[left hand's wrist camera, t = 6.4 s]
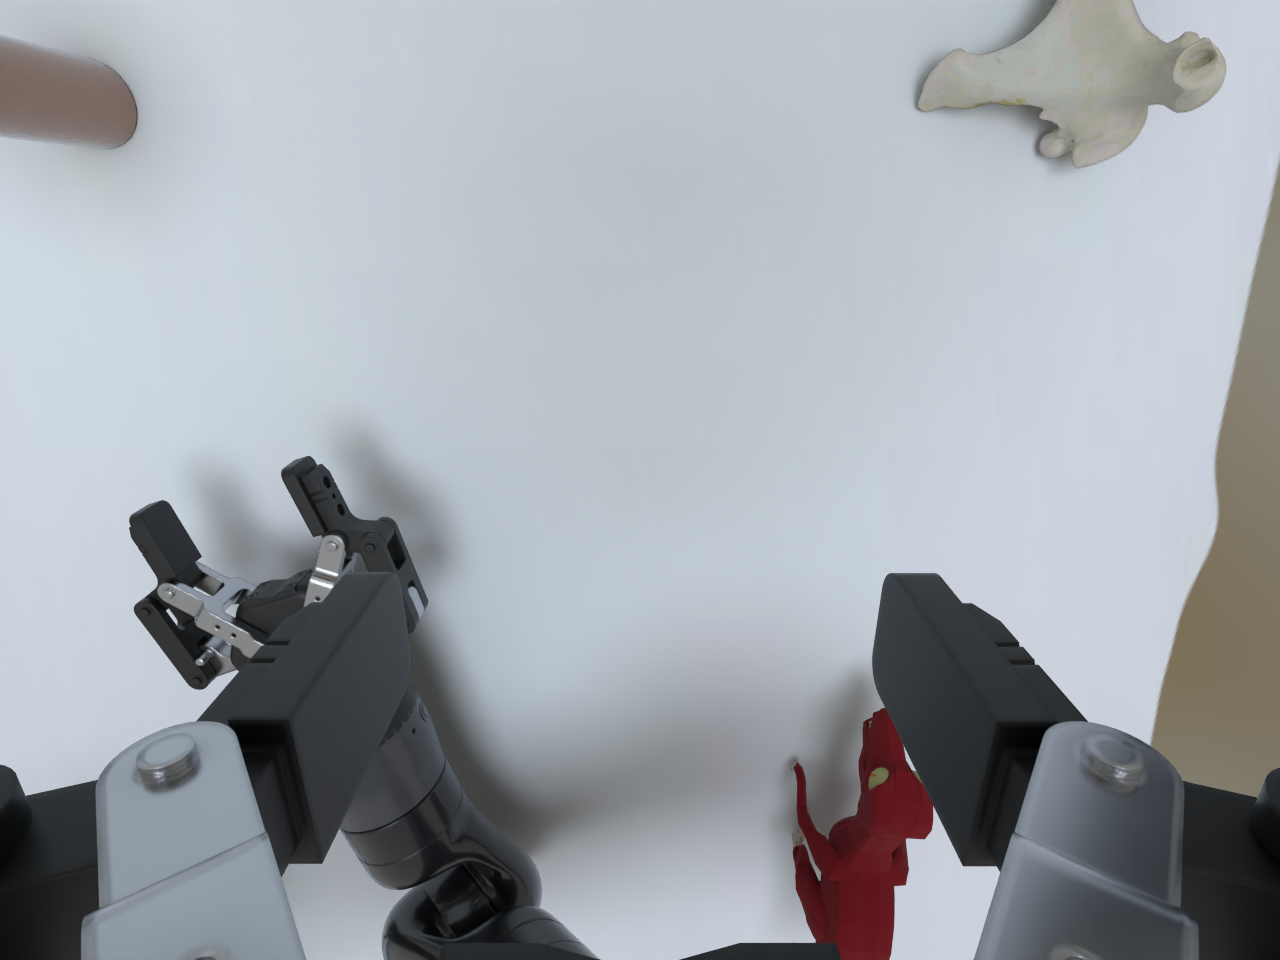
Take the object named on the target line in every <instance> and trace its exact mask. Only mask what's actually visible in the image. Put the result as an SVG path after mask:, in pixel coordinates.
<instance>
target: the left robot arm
mask: <svg viewBox="0 0 1280 960" xmlns="http://www.w3.org/2000/svg"><path fill="white" fill-rule="evenodd" d="M1034 661H1035V660H1034V659H1033V658H1032V657H1031V656H1030V654H1029V653H1028V652H1027V651H1026V650H1025V649H1024V648H1023V647H1020V646H1019V642H1018V641H1017V640H1016V638H1015V637H1014V636H1013V635H1012V634H1011V633H1010V632H1009V630H1008V629H1007V628H1006V627H1005V626H1004V625H1003V623H1002V622H1001V621H999V620H998V619H996V618H994V617H993V616H991V615H990V614H988V613H987V612H985V611H983V610H982V609H980V608H979V607H977V606H975V605H974V604H972V603H962V602H961V601H960V600H959V599H958V597H957V596H956V595H955V594H954V593H953V591H952V590H951V589H950V588H949V586H948V585H947V584H946V583H945V581H944V580H943V579H942V578H941V577H940V576H939V575H938V574H935V573H890V574H888V575H887V576H886V578H885V580H884V583H883V587H882V593H881V600H880V607H879V614H878V620H877V627H876V634H875V641H874V647H873V656H872V667H873V676H874V681H875V685H876V689H877V691H878V694H879V696H880V698H881V700H882V702H883V704H884V706H885V708H886V710H887V712H888V714H889V716H890V718H891V720H892V722H893V724H894V726H895V728H896V730H897V732H898V735H899V737H900V739H901V741H902V743H903V745H904V747H905V749H906V751H907V753H908V755H909V757H910V759H911V761H912V763H913V765H914V767H915V769H916V771H917V773H918V775H919V777H920V779H921V781H922V783H923V786H924V788H925V790H926V792H927V794H928V796H929V798H930V800H931V802H932V804H933V806H934V808H935V810H936V812H937V814H938V816H939V818H940V820H941V822H942V824H943V826H944V828H945V830H946V832H947V834H948V837H949V839H950V841H951V843H952V845H953V847H954V849H955V851H956V853H957V855H958V857H959V859H960V861H961V863H962V865H963V866H997V867H998V869H999V871H1000V876H999V879H998V882H997V885H996V889H995V892H994V895H993V899H992V902H991V905H990V908H989V912H988V915H987V918H986V921H985V925H984V928H983V931H982V935H981V938H980V941H979V944H978V948H977V951H976V954H975V957H974V960H1280V768H1277V769H1275V770H1273V771H1271V772H1270V773H1269V774H1268V775H1267V777H1266V779H1265V782H1264V784H1263V786H1262V789H1261V791H1260V793H1259V796H1258V798H1256V797H1252V796H1247V795H1243V794H1238V793H1234V792H1229V791H1225V790H1220V789H1216V788H1211V787H1207V786H1202V785H1198V784H1193V783H1189V782H1185V781H1182V779H1181V777H1180V775H1179V773H1178V772H1177V770H1176V769H1175V768H1174V766H1173V765H1172V764H1171V763H1170V762H1169V761H1168V760H1167V759H1166V758H1165V757H1164V756H1163V755H1161V754H1160V753H1159V752H1158V751H1156V750H1155V749H1154V748H1152V747H1151V746H1149V745H1148V744H1146V743H1144V742H1143V741H1141V740H1139V739H1137V738H1135V737H1133V736H1131V735H1129V734H1127V733H1125V732H1122V731H1120V730H1117V729H1114V728H1111V727H1108V726H1105V725H1101V724H1096V723H1091V722H1088V721H1087V720H1086V719H1085V718H1084V716H1083V715H1082V714H1081V713H1080V712H1079V711H1078V710H1077V708H1076V707H1075V706H1074V705H1073V704H1072V703H1071V702H1070V700H1069V699H1068V698H1067V697H1066V696H1065V695H1064V694H1063V692H1062V691H1061V690H1060V689H1059V688H1058V687H1057V685H1056V684H1055V683H1054V682H1053V681H1052V680H1051V679H1050V677H1049V676H1048V675H1047V674H1046V673H1045V672H1044V671H1043V669H1042V668H1041V667H1040V666H1039V665H1035V662H1034ZM410 671H411V650H410V643H409V636H408V629H407V622H406V615H405V609H404V602H403V595H402V588H401V583H400V580H399V577H398V576H397V574H396V573H394V572H348V573H346V574H345V575H344V576H343V577H342V578H341V579H340V580H339V582H338V583H337V584H336V585H335V587H334V588H333V589H332V590H331V592H330V593H329V594H328V595H327V597H326V598H325V599H324V600H323V602H312V603H310V604H308V605H307V606H305V607H304V608H302V609H300V610H299V611H297V612H296V613H294V614H293V615H291V616H289V617H288V618H286V619H285V620H283V621H282V623H281V624H280V625H279V626H278V627H277V628H276V630H275V631H274V632H273V633H272V634H271V635H270V637H269V638H268V639H267V640H266V644H265V645H262V646H261V647H260V648H259V649H258V650H257V652H256V653H255V654H254V655H253V656H252V657H251V659H250V663H246V664H245V665H244V667H243V668H242V669H241V670H240V671H239V672H238V674H237V675H236V676H235V677H234V678H233V679H232V681H231V682H230V683H229V684H228V685H227V686H226V687H225V689H224V690H223V691H222V692H221V693H220V694H219V696H218V697H217V698H216V699H215V700H214V701H213V703H212V704H211V705H210V706H209V707H208V708H207V710H206V711H205V712H204V713H203V714H202V715H201V716H200V718H199V719H198V720H197V721H196V722H189V723H184V724H179V725H175V726H172V727H169V728H166V729H163V730H160V731H158V732H155V733H153V734H151V735H149V736H147V737H145V738H143V739H141V740H139V741H137V742H136V743H134V744H132V745H131V746H129V747H128V748H126V749H125V750H124V751H122V752H121V753H120V754H119V755H117V756H116V757H115V758H114V759H113V760H112V761H111V762H110V763H109V764H108V765H107V766H106V768H105V769H104V770H103V772H102V773H101V775H100V776H99V779H98V780H96V781H91V782H87V783H82V784H78V785H73V786H68V787H64V788H59V789H55V790H50V791H46V792H41V793H37V794H32V795H28V796H25V794H24V792H23V789H22V787H21V785H20V782H19V780H18V778H17V775H16V773H15V772H14V771H13V770H12V769H11V768H9V767H6V766H4V765H0V960H306V957H305V954H304V951H303V948H302V944H301V941H300V938H299V935H298V931H297V928H296V925H295V921H294V918H293V915H292V912H291V908H290V905H289V902H288V899H287V895H286V892H285V889H284V885H283V882H282V879H281V877H282V875H283V873H284V871H285V870H286V868H287V866H288V864H322V863H323V861H324V859H325V857H326V855H327V852H328V850H329V848H330V846H331V844H332V842H333V840H334V838H335V836H336V834H337V832H338V830H339V828H340V826H341V824H342V822H343V819H344V817H345V815H346V813H347V811H348V809H349V807H350V805H351V803H352V801H353V799H354V797H355V795H356V793H357V791H358V788H359V786H360V784H361V782H362V780H363V778H364V776H365V774H366V772H367V770H368V768H369V766H370V764H371V762H372V760H373V758H374V755H375V753H376V751H377V749H378V747H379V745H380V743H381V741H382V739H383V737H384V735H385V733H386V731H387V729H388V727H389V724H390V722H391V720H392V718H393V716H394V714H395V712H396V710H397V708H398V706H399V704H400V702H401V700H402V698H403V696H404V694H405V691H406V689H407V686H408V682H409V677H410ZM439 960H600V959H596V958H592V957H589V956H585V955H581V954H578V953H574V952H571V951H567V950H563V949H560V948H556V947H552V946H549V945H545V944H542V943H443V946H442V949H441V953H440V957H439ZM680 960H841V957H840V953H839V950H838V946H837V943H738V944H735V945H731V946H728V947H724V948H720V949H717V950H713V951H709V952H706V953H702V954H699V955H695V956H691V957H688V958H684V959H680Z"/></svg>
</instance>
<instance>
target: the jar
mask: <svg viewBox="0 0 1280 960" xmlns="http://www.w3.org/2000/svg"><path fill="white" fill-rule="evenodd" d="M136 121H137V112H136V106H135V102H134V99H133V96H132V94H131V92H130V90H129V88H128V87H127V85H126V84H125V82H124V81H123V80H122V78H121V77H120V76H119V75H118V74H117V73H116V72H114V71H113V70H112V69H111V68H109V67H108V66H106V65H104V64H102V63H100V62H98V61H95V60H92V59H88V58H84V57H81V56H77V55H73V54H70V53H66V52H62V51H59V50H55V49H51V48H48V47H44V46H40V45H37V44H33V43H29V42H26V41H22V40H18V39H15V38H11V37H7V36H4V35H0V137H2V138H10V139H19V140H28V141H37V142H46V143H55V144H64V145H73V146H82V147H91V148H100V149H112V148H116V147H119V146H121V145H123V144H124V143H125V142H127V141H128V140H129V138H130V137H131V136H132V134H133V132H134V129H135V126H136Z"/></svg>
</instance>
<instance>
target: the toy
mask: <svg viewBox="0 0 1280 960" xmlns="http://www.w3.org/2000/svg"><path fill="white" fill-rule="evenodd" d="M796 765H797V766H796ZM793 769H794V770H795V773H796V778H797V815H798V823H799V826H800V828H801V830H802V832H801V837H800V834H799V832H798V836H797V841H796V839H795V837H794V835H793V833H792V838H793V848H794V849H793V858H794V862H795V869H796V875H795V878H796V890H797V893H798V895H799V898H800V900H801V903H802V906H803V909H804V912H805V915H806V920H807V924H808V926H809V928H810V930H811V932H812V934H813V936H814V938H815V939H816V943H837V946H838V950H839V953H840V957H841V960H889V959H890V955H891V949H892V940H893V931H894V886H901V885H906V881H907V875H908V871H909V867H908V858H907V849H906V838H912V839H925V838H926V837H927V836H928V834H929V833H930V832H931V830H932V825H933V804H932V802H931V800H930V798H929V796H928V794H927V792H926V790H925V788H924V786H923V783H922V781H921V779H920V777H919V775H918V773H917V772H916V771H913V770H911V768H910V766H909V765H908V763H907V761H906V758H905V752H904V746H903V743H902V741H901V739H900V737H899V735H898V732H897V730H896V728H895V726H894V724H893V722H892V720H891V718H890V716H889V714H888V712H887V710H886V708H882V709H880V711H877V712H874V713H873V718H870V719H867V720H866V721H864V723H863V748H862V751H861V755H860V758H859V776H860V781H861V796H860V799H859V803H858V811H857V814H856V815H855V816H851V817H847V818H844V819H842V820H840V821H839V822H837V823H836V824H835V825H834V826H833V827H832V829H831V831H830V833H829V841H828V840H827V838H826V837H825V836H824V835H822V834H820V833H819V832H818V831H816V829H815V827H814V825H813V823H812V821H811V818H810V816H809V813H808V811H807V805H806V779H805V775H804V772H803V769H802V767H801V765H799V763H798V762H795V763H794V765H792V767H791V771H792V770H793ZM804 836H805V838H806V841H807V843H808V846H809V848H810V851H811V854H812V856H813V859H814V862H815V864H816V865H817V867H818V868H819V870H820V871H821V880H820V881H819V880H818V878H817V876H816V873H815V871H814V869H813V867H812V864H811V862H810V860H809V856H808V852H807V849H806V847H805V845H803V840H804Z"/></svg>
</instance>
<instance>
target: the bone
mask: <svg viewBox="0 0 1280 960" xmlns="http://www.w3.org/2000/svg"><path fill="white" fill-rule="evenodd" d="M1225 74H1226V63H1225V59H1224V57H1223V55H1222V53H1221V52H1220V50H1219V49H1218V48H1217V47H1216V46H1215V45H1214V44H1213V43H1212V42H1211V41H1210V39H1209V38H1202V39H1199V35H1198V34H1197V33H1195V32H1185V33H1184V34H1183V35H1181V36H1180V37H1179V38H1177V39H1176V40H1174V41H1172V42H1169V43H1166V42H1163V41H1162V40H1160V39H1159V38H1158V37H1157V36H1155V35H1154V34H1152V33H1151V32H1150V31H1148V29H1147V28H1146V27H1145V26H1144V25H1143V23H1142V22H1141V20H1140V18H1139V16H1138V13H1137V11H1136V8H1135V6H1134V3H1133V0H1057V1H1056V2H1055V4H1054V6H1053V7H1052V9H1051V10H1050V12H1049V13H1048V15H1047V16H1046V17H1045V18H1044V19H1043V20H1042V21H1041V23H1040V24H1039V25H1038V26H1037V27H1036V28H1035V29H1034V30H1033V31H1032V32H1031V33H1029V34H1028V35H1027V36H1025V37H1024V38H1023V39H1021V40H1020V41H1018V42H1016V43H1014V44H1012V45H1010V46H1008V47H1006V48H1003V49H1000V50H997V51H995V52H991V53H988V54H982V55H975V54H970V53H967V52H965V51H964V50H963V49H955V50H953V51H951V52H950V53H948V54H947V55H946V56H945V57H944V58H943V59H942V60H941V61H940V62H939V63H938V65H937V66H936V67H935V68H934V69H933V70H932V72H931V73H930V74H929V76H928V77H927V79H926V81H925V84H924V86H923V89H922V92H921V95H920V98H919V101H918V109H920V110H921V111H925V112H929V111H932V110H935V109H937V108H941V107H952V108H963V109H970V108H974V107H977V106H981V105H984V104H989V103H998V104H1002V105H1032V106H1036V107H1041V108H1042V109H1043V111H1042V112H1041V113H1040V116H1039V118H1041V119H1042V120H1049V121H1051V122H1053V123H1055V124H1057V125H1058V127H1057V128H1056V129H1054V130H1053V131H1051V132H1049V133H1047V134H1045V135H1044V136H1043V137H1042V139H1041V141H1040V145H1039V149H1040V153H1041V154H1042V155H1043V156H1044V157H1046V158H1052V159H1054V158H1058V157H1059V156H1061V155H1063V154H1065V153H1067V152H1072V160H1073V165H1074V167H1075V168H1082V167H1086V166H1091V165H1094V164H1097V163H1100V162H1103V161H1105V160H1108V159H1110V158H1112V157H1114V156H1116V155H1117V154H1119V153H1120V152H1122V151H1123V150H1125V149H1126V148H1127V147H1128V146H1130V145H1131V144H1132V143H1133V141H1134V140H1135V139H1136V138H1137V136H1138V135H1139V133H1140V131H1141V130H1142V128H1143V126H1144V124H1145V121H1146V118H1147V113H1148V105H1154V104H1160V105H1164V106H1166V107H1167V108H1169V109H1171V110H1172V111H1174V112H1176V113H1180V112H1188V111H1192V110H1194V109H1196V108H1198V107H1200V106H1202V105H1203V104H1205V103H1206V102H1208V101H1209V100H1210V99H1211V98H1212V97H1213V96H1214V95H1215V94H1216V93H1217V92H1218V91H1219V90H1220V88H1221V86H1222V84H1223V81H1224V78H1225Z"/></svg>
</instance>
